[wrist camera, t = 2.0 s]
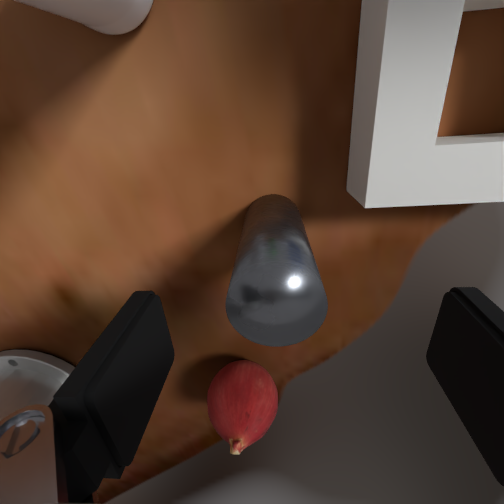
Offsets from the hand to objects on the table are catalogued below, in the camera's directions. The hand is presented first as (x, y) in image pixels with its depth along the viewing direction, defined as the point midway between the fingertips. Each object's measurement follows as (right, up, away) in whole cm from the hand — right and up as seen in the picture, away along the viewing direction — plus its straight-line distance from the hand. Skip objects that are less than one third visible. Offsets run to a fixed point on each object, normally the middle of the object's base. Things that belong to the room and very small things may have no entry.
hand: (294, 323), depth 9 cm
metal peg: (0, +5, +10) cm, 11 cm away
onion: (-2, -8, +17) cm, 19 cm away
